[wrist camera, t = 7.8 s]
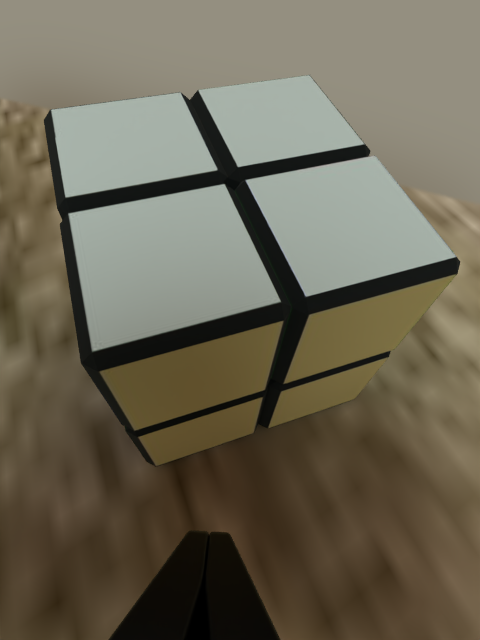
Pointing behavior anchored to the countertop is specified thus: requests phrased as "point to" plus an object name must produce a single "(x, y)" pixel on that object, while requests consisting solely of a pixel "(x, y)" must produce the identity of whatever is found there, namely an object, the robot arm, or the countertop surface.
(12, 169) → the countertop surface
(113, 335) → the puzzle cube
